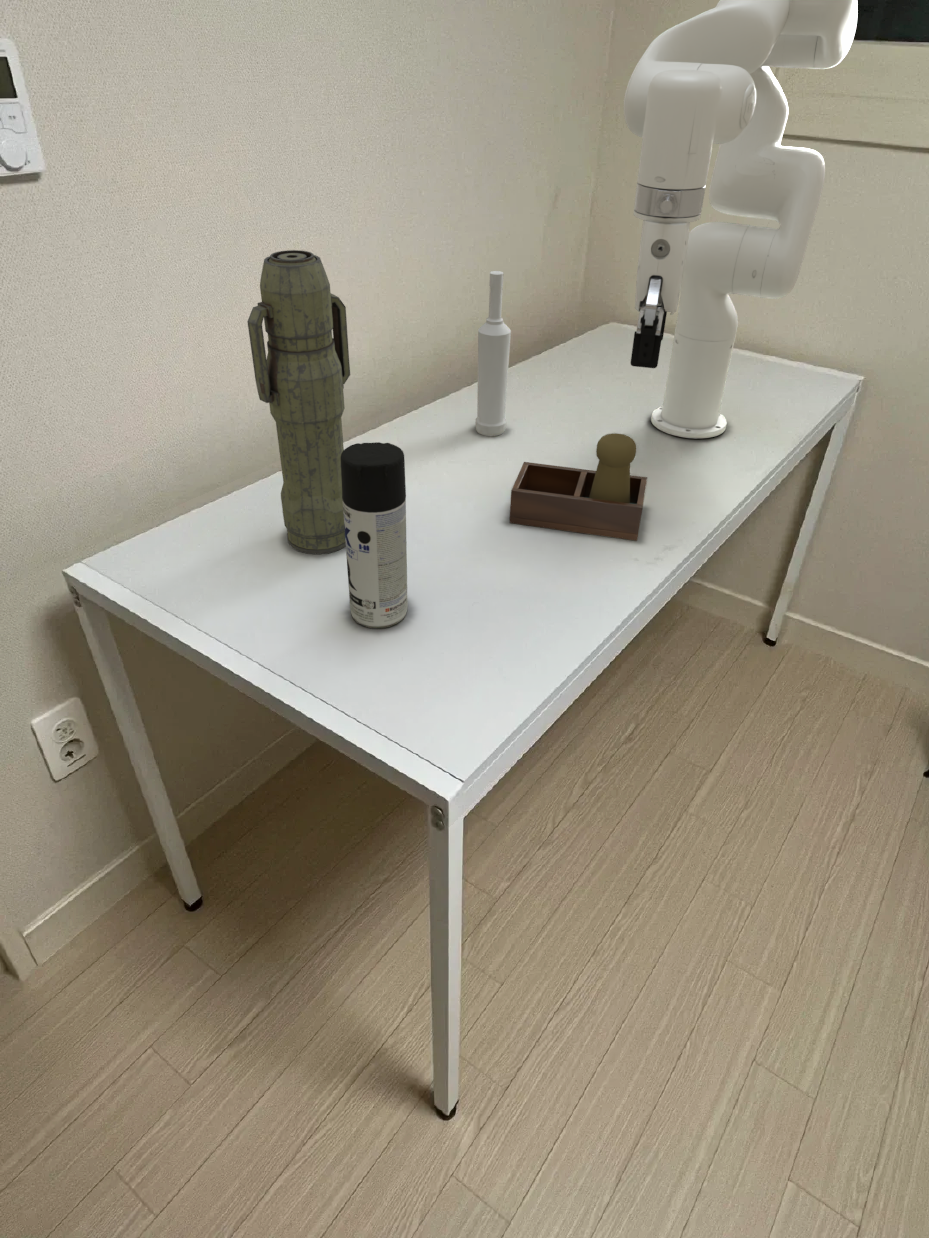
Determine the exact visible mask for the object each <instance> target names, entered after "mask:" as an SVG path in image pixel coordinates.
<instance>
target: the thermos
mask: <svg viewBox="0 0 929 1238" xmlns="http://www.w3.org/2000/svg"><path fill="white" fill-rule="evenodd" d="M259 291H260V296H261V301H260V302H257V305H256V306H253V307H252V308H251V311H250V314H249V316H248V319H247V329H248V336H249V344H250V350H251V351H250V352H251V358H252V364H253V365H252V366H253V372H254V380H255V385H256V390H257V394H258V398H259V400H260V401H262V402H264V403H265V404H268V406H269V412H270V415H271V416H272V419H273V420H274V421H275V426H276V435H277V443H278V444H277V445H278V452H279V459H280V465H281V475H282V482H283V483H282V486H281V489H280V490H281V491H280V501H281V509H282V518H283V523H284V528H285V529H286V537H287V544H288V545H289V546H290V547H291V548H292V549H293V550H295V551H297V552H298V553H299V552H300V553H303V554H308V555H325V554H326V555H327V554H331V553H335V552H338V551H340V550H342V549H344V548H346V541H345V527H344V514H343V499H342V478H341V454H342V452H343V450H345V448H344V447H345V446H344V435H343V433H344V432H343V423H342V422H343V421H342V416H343V414H344V411H345V407H346V406H345V395H344V388H345V384H346V382H347V381H348V379H349V378H350V376H351V365H350V353H349V337H348V323H347V321H348V320H347V307H346V306H345V304H344V302H343V301H342V300H341V299H340V297H339V296H338V295H336V294H334V293H331V283H330V281H329V278H328V274H327V272H326V270H325V267H324V265H323V262H322V259H321V257H320V256H318V255H316V254H314V253H313V252H311V251H307V250H300V249H299V250H298V249H297V250H296V249H292V250H291V249H289V250H280V251H275V252H272V253H270V255H269V256H266V257H265V258H264V259H263V263H262V269H261V274H260V280H259ZM263 322H264V329H265V332H266V334H267V341H266V345H265V338H264V329H263ZM266 347H267V353H266Z"/></svg>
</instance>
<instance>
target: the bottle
mask: <svg viewBox="0 0 929 1238" xmlns="http://www.w3.org/2000/svg"><path fill="white" fill-rule="evenodd" d="M503 287H504V272H503V271H500V270H493V271H492V270H491V271H489V294H488V295H489V296H488V297H489V299H488V302H489V303H488V317H486V319H485V322H484V323H483V324H482V325H480V326H479V327H478V329H477V396H476V397H477V398H476V399H477V403H476V407H477V408H476V410H477V412H476V413H477V414H476V415H477V416H476V418H475V431H476V432H477V433H478V434H480V435H482V436H487V437H497V436H501V435H503V434H504V433H505V431H506V429H507V418H506V406H507V394H508V393H507V391H508V390H507V389H508V379H509V378H508V377H509V366H510V365H509V363H510V352H511V351H510V350H511V349H510V348H511V337H512V336H511V334H512V329H510V327H509V326H507V324H506V323H505V322H504V318H503V317H502V311H503V310H502V309H503V308H502V307H503Z"/></svg>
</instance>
